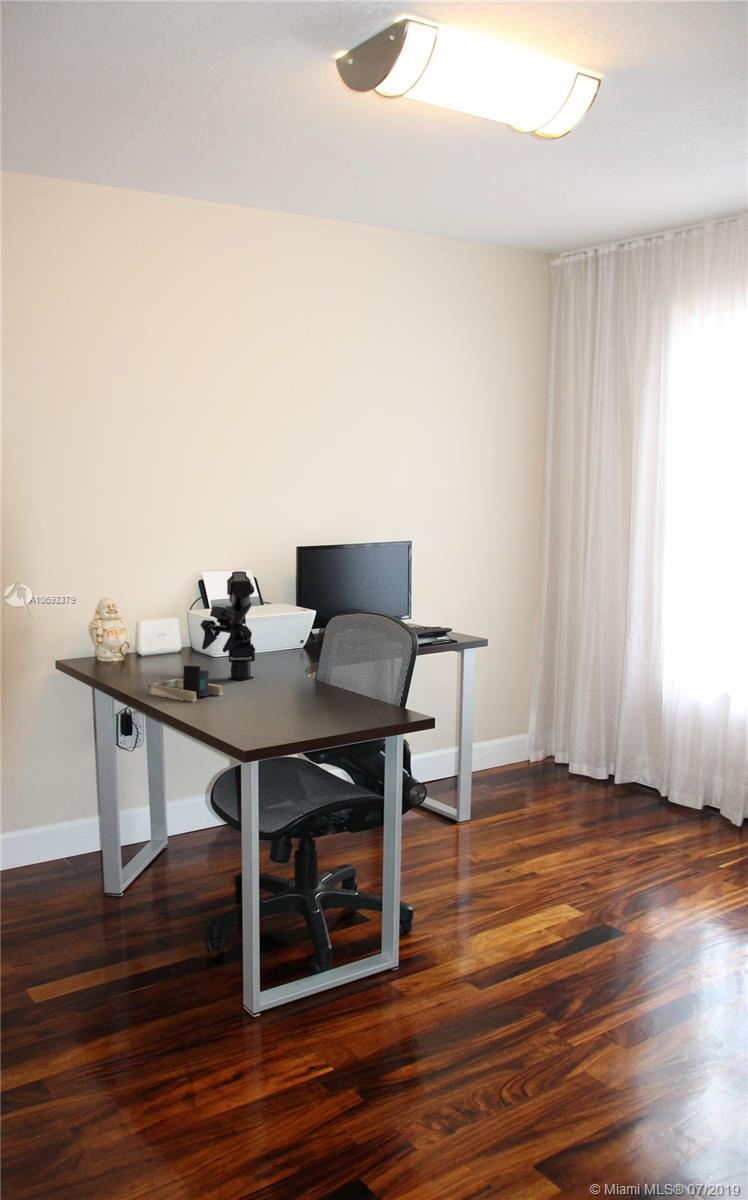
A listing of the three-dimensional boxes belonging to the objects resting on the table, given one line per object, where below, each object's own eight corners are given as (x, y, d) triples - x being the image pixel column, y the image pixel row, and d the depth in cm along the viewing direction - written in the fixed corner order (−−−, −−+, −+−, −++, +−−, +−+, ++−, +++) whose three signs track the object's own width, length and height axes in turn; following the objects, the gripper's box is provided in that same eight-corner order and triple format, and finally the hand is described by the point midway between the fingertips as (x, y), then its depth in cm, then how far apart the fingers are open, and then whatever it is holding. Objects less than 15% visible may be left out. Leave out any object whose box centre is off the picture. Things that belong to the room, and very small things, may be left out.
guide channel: (177, 687, 323) (177, 678, 322) (222, 695, 311) (222, 685, 310) (147, 694, 312) (147, 684, 312) (192, 702, 300) (192, 692, 300)
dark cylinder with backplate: (196, 699, 303) (196, 666, 303) (182, 698, 306) (182, 665, 306) (212, 697, 309) (212, 665, 309) (198, 696, 312) (198, 664, 312)
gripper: (203, 595, 322) (179, 632, 314) (245, 598, 311) (221, 636, 303) (221, 617, 329) (197, 653, 321) (262, 620, 318) (239, 658, 310)
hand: (213, 650), depth 313 cm, fingers open, 9 cm apart
